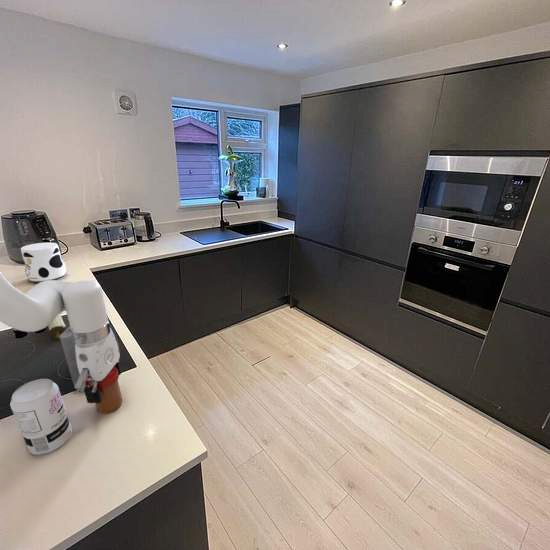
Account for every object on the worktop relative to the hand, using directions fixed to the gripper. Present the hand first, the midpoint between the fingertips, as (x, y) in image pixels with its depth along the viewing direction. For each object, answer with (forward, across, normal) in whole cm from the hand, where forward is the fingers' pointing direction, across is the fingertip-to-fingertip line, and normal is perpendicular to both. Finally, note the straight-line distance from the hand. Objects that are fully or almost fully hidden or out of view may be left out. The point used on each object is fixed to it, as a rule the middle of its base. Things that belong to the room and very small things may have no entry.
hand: (105, 387), depth 75 cm
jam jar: (+6, 0, 0) cm, 6 cm away
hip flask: (+6, +13, +13) cm, 19 cm away
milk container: (+6, +85, +78) cm, 116 cm away
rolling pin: (+6, +40, +41) cm, 58 cm away
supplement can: (+6, -11, +8) cm, 15 cm away
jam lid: (-4, 0, 0) cm, 4 cm away
